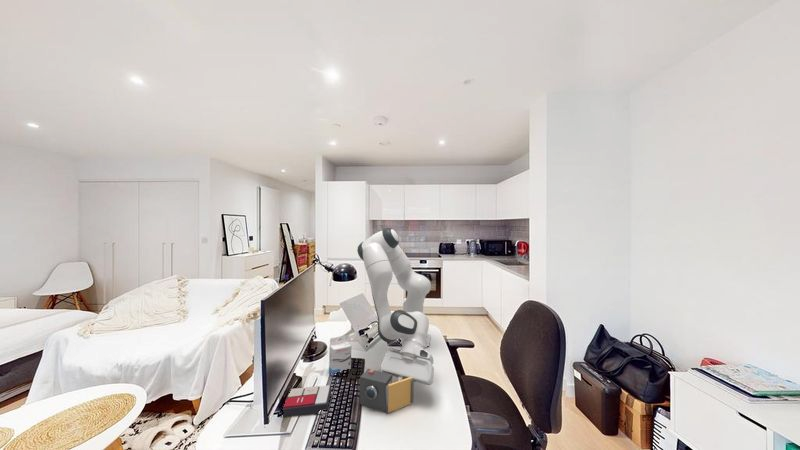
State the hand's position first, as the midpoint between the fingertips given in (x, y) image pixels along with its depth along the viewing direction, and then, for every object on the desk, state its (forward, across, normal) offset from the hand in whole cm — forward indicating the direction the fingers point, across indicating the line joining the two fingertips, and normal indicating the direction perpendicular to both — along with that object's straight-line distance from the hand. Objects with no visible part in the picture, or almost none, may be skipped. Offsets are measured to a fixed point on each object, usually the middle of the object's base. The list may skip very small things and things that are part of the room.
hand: (401, 391), depth 95 cm
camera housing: (+6, -9, +2) cm, 10 cm away
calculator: (+13, -30, -5) cm, 34 cm away
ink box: (-3, -33, +11) cm, 35 cm away
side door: (+4, 0, +2) cm, 5 cm away
